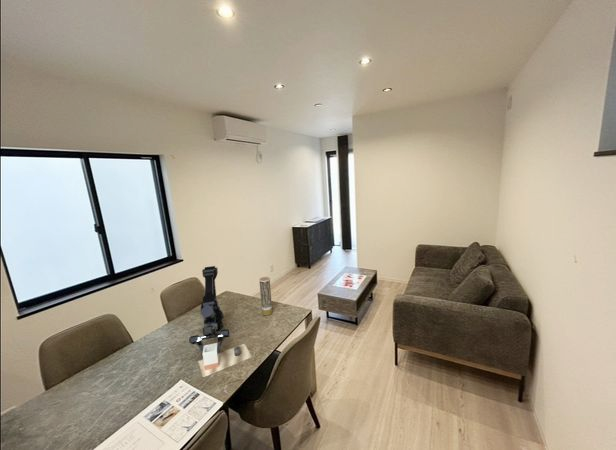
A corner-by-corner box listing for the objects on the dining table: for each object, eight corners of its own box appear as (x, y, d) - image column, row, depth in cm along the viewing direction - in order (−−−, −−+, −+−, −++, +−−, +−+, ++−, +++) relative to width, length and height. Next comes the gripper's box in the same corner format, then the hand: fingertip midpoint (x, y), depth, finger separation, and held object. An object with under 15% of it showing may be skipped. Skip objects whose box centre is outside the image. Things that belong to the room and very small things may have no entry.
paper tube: (270, 316, 170) (267, 281, 165) (260, 315, 171) (257, 280, 166) (273, 311, 176) (271, 277, 172) (264, 310, 178) (261, 276, 173)
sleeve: (204, 370, 123) (202, 353, 121) (206, 361, 129) (203, 345, 127) (218, 367, 124) (216, 350, 123) (219, 358, 130) (217, 342, 129)
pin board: (202, 379, 118) (201, 371, 118) (198, 362, 129) (197, 355, 128) (252, 358, 130) (251, 351, 130) (244, 345, 141) (243, 338, 141)
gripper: (187, 322, 123) (186, 357, 115) (227, 314, 128) (229, 347, 120) (191, 327, 132) (191, 360, 124) (229, 320, 137) (230, 351, 129)
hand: (210, 355), depth 124 cm, fingers closed on sleeve, 6 cm apart
